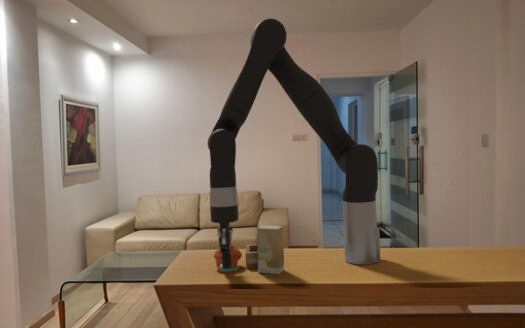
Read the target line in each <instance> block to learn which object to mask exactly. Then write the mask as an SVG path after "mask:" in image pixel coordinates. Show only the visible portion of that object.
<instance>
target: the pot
mask: <svg viewBox="0 0 525 328" xmlns="http://www.w3.org/2000/svg"><path fill="white" fill-rule="evenodd" d="M213 258H214V259H215V265H216V268H217V269H218V268H219V267H221V265H222V255H221V253H220V247H219V248H218V249H217V250H216V251H215V252H214V254H213ZM241 258H242V252H241V250H240V249H239V248H237V247H236V246H235V245H233V244H232V248H231V265H234V268H236V267H237V266H238V264H239V263H238V262H239V260H240V259H241Z"/></svg>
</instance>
